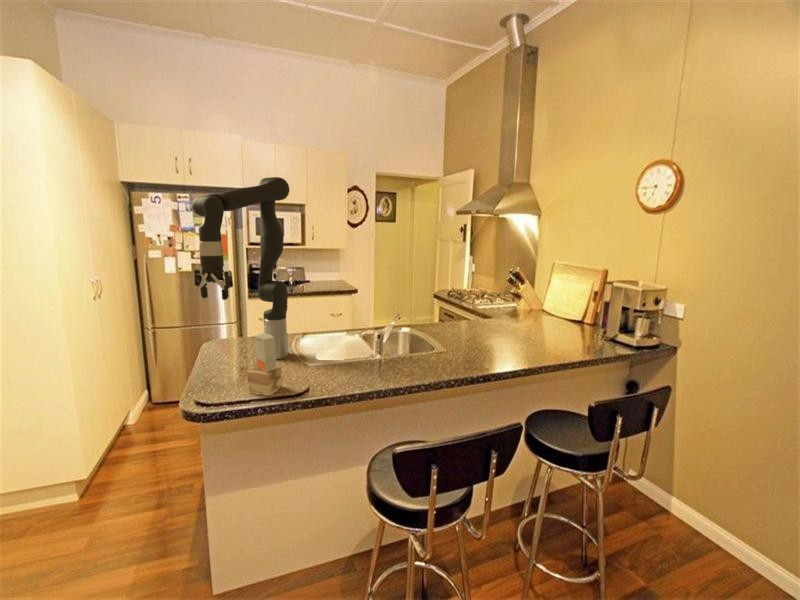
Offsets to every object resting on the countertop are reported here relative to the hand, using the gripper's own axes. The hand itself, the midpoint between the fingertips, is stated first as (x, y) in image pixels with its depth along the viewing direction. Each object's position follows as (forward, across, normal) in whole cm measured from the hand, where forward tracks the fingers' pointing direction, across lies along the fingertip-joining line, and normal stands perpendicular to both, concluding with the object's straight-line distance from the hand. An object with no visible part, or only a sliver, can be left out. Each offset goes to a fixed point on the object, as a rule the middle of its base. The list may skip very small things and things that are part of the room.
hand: (214, 298), depth 145 cm
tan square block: (+26, -23, +6) cm, 35 cm away
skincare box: (+22, -23, +5) cm, 33 cm away
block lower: (+30, -23, +6) cm, 38 cm away
